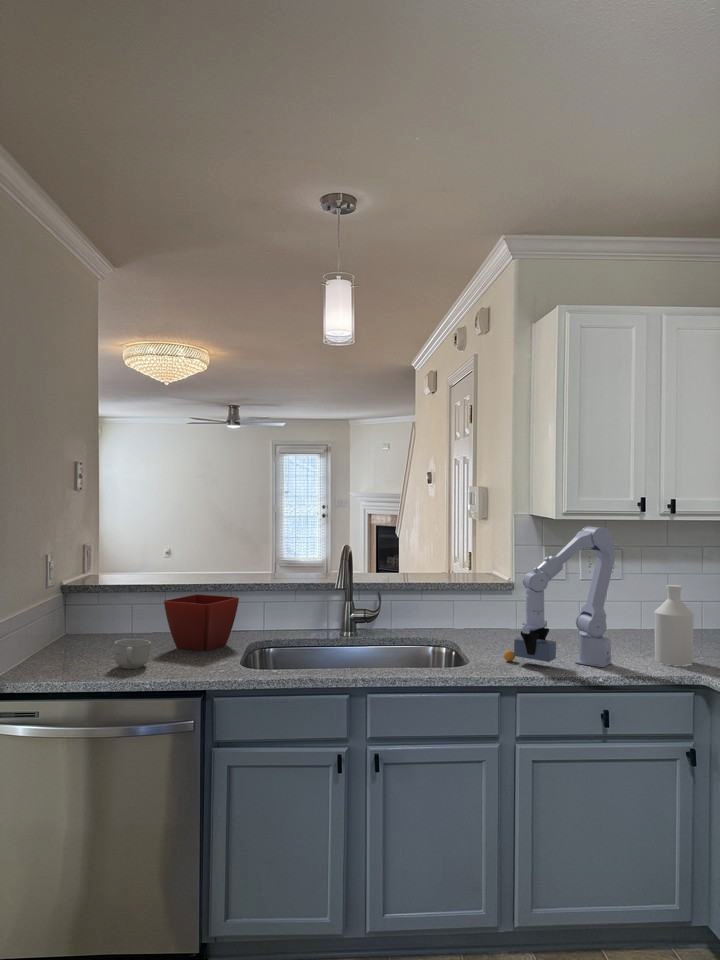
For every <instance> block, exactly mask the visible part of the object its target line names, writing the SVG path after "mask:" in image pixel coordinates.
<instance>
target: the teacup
mask: <svg viewBox="0 0 720 960" xmlns="http://www.w3.org/2000/svg"><path fill="white" fill-rule="evenodd" d="M151 644H152V643H151V641H150V640H148V639H141V638H124V639H123V638H122V639H118V640H116V641H114V653H113V654H114V657H113V659H114V661H115V663H116V664H117V665H118V666H119V668H122V669H125V670H126V669H127V670H128V669H129V670H130V669H131V670H134V669H140V667H141V668H142V667H144V665H146V664H147V663H148V662H149V659H150V652H151Z"/></svg>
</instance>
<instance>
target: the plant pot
mask: <svg viewBox="0 0 720 960" xmlns="http://www.w3.org/2000/svg"><path fill="white" fill-rule="evenodd" d="M239 599H240V598H239V597H238V596H237V597H236V596H226V595H225V596H224V595H212V594H191V595H187V596H180V597H176V598H170V599H166V600H163V603H164V609H165V611H164V612H165V616H166V619H167V623H168V628H169V631H170V634H171V637H172V640H173V642H174V645H175V647H176V648H177V649H184V650H192V651H193V650H194V651H199V652H206V651H207V652H208V651H211V650H213V649H217V647H218V648H220V647H224V646H226V645H227V643H228V640H229V638H230V635H231V632H232V629H233V627H234V623H235V620H236V617H237V616H236V615H237V611H238V606H239Z"/></svg>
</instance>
